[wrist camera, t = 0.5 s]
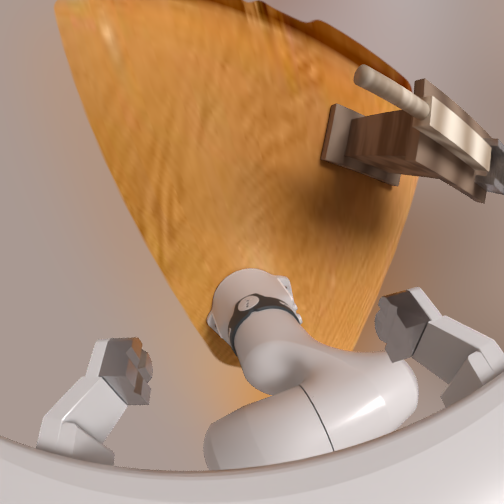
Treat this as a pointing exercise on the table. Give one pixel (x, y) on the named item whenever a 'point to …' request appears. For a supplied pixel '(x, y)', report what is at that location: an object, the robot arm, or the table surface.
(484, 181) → the cup bracket
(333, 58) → the table surface
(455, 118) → the ash rail
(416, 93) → the walnut stand
